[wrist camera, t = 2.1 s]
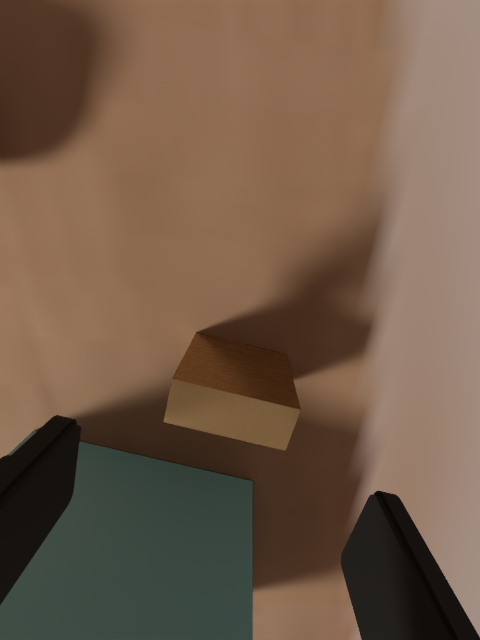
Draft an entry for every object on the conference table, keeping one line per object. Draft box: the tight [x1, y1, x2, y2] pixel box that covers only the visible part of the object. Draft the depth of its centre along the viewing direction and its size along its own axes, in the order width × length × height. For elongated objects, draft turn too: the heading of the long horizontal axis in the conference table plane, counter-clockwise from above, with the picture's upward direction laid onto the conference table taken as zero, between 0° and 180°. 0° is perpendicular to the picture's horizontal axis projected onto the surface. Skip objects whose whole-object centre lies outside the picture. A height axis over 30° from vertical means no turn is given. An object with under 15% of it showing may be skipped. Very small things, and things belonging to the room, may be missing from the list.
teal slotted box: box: [0, 431, 253, 640], centre depth 15 cm, size 12×14×10 cm
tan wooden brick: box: [164, 332, 301, 451], centre depth 14 cm, size 2×5×5 cm, turn 76°
